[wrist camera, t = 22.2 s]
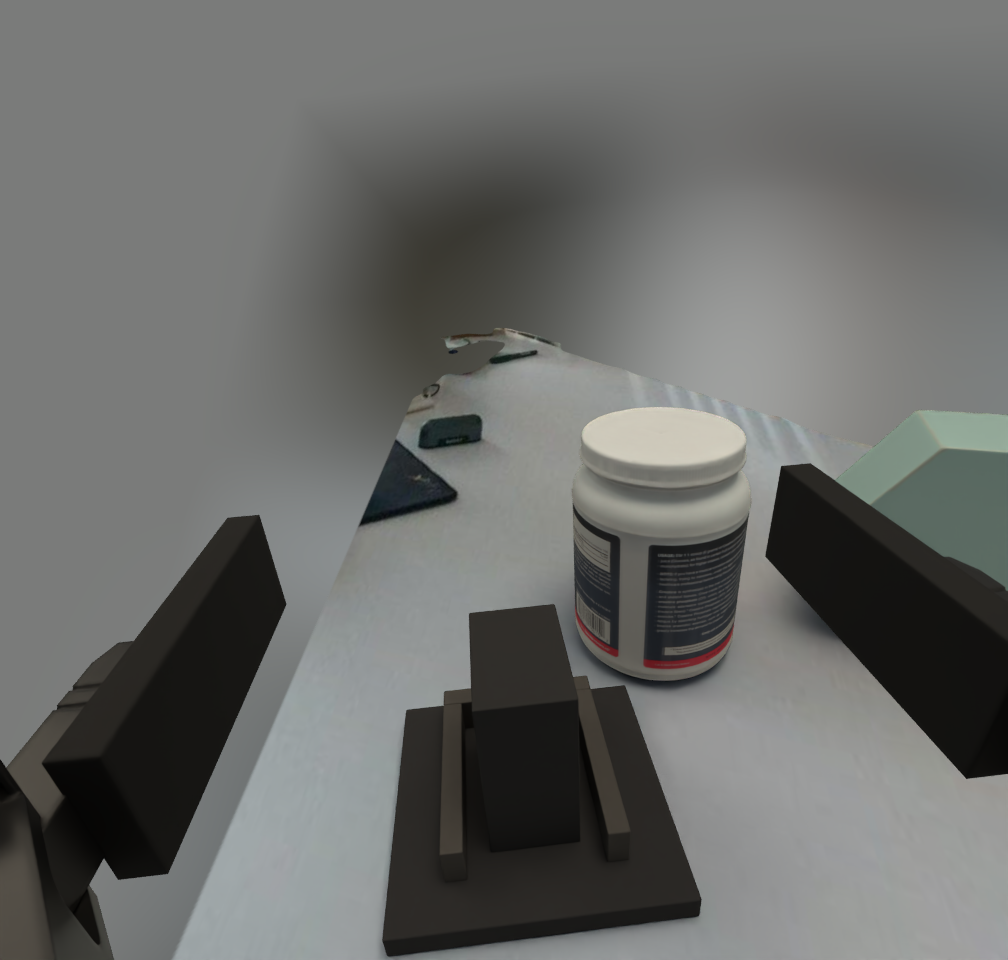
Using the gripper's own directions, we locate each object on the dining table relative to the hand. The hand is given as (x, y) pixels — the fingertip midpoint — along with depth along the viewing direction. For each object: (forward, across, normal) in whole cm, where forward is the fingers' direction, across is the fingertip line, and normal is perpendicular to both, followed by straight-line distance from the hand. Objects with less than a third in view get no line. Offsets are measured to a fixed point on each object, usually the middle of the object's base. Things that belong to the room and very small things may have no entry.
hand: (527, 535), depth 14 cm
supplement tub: (+23, +12, -26) cm, 37 cm away
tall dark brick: (+10, 0, -24) cm, 26 cm away
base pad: (+10, 0, -26) cm, 27 cm away
